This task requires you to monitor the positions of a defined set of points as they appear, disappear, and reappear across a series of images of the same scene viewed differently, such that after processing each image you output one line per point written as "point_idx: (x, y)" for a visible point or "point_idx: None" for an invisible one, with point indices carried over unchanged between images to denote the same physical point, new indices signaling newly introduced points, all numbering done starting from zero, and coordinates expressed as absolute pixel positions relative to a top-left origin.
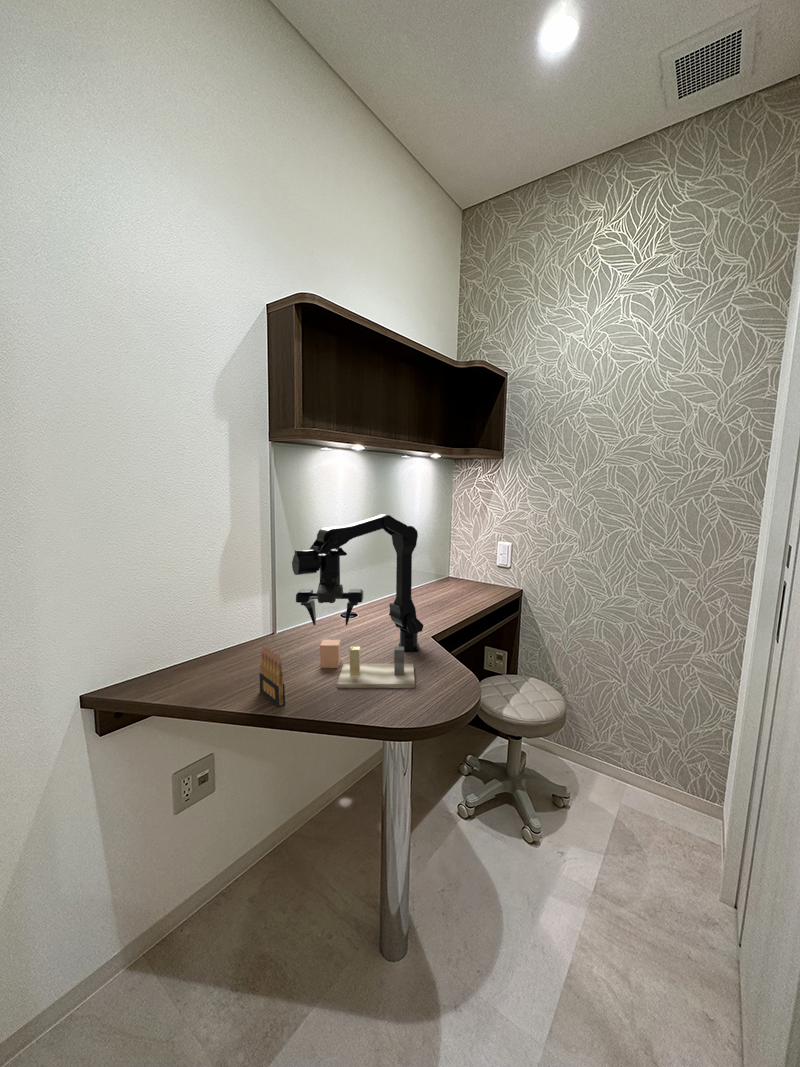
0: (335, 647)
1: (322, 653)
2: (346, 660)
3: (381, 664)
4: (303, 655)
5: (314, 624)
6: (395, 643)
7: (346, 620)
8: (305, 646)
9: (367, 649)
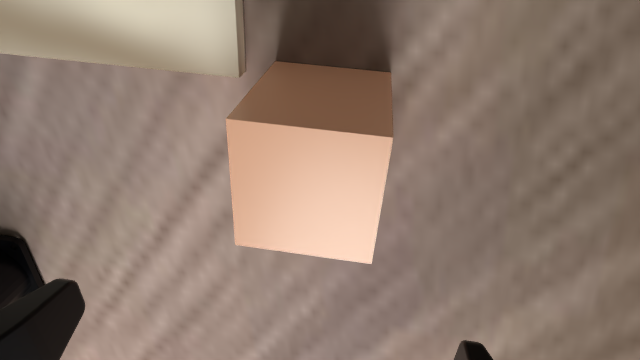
0: (256, 114)
1: (373, 105)
2: None
3: (7, 40)
4: (488, 261)
5: (473, 348)
6: None
7: (6, 322)
8: None
9: (172, 279)
